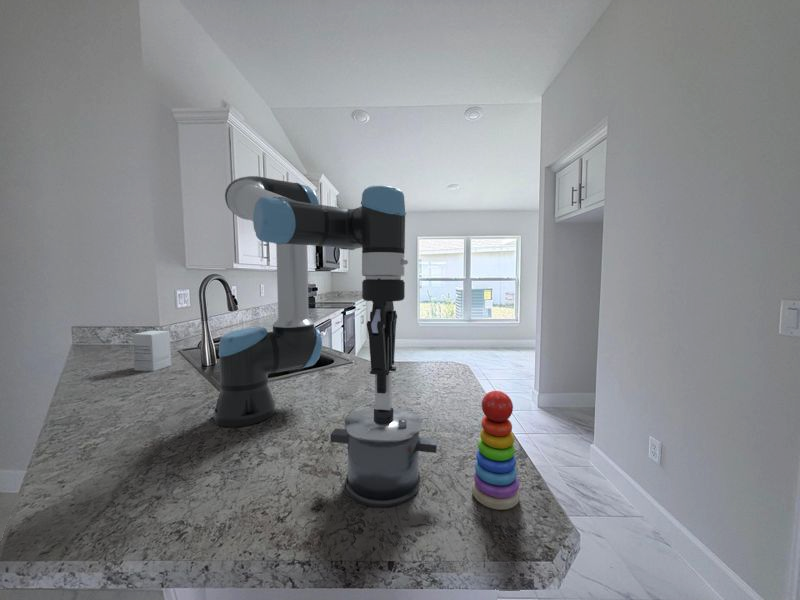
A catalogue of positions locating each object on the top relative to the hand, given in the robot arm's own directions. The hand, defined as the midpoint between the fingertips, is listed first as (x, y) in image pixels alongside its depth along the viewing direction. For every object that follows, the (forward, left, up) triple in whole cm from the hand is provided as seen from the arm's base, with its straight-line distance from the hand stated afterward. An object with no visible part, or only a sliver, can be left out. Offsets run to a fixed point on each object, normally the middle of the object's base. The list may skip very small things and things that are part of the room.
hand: (383, 407), depth 59 cm
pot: (0, 0, -14) cm, 14 cm away
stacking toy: (+20, 0, -14) cm, 25 cm away
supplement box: (-111, +54, -14) cm, 124 cm away
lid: (0, +1, -4) cm, 4 cm away
